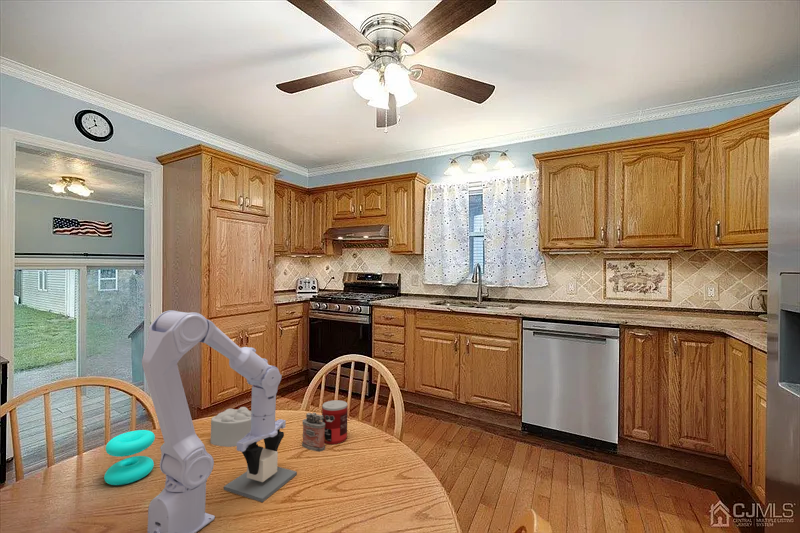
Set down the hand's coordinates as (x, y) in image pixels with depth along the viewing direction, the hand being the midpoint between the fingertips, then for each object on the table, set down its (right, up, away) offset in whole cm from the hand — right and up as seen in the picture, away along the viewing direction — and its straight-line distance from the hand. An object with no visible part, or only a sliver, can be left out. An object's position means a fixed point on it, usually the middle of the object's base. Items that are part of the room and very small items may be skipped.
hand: (262, 467), depth 86 cm
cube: (0, -2, 0) cm, 2 cm away
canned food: (+14, -5, +23) cm, 28 cm away
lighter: (+8, -5, +18) cm, 20 cm away
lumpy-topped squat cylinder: (-18, -5, +23) cm, 29 cm away
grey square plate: (0, -4, 0) cm, 3 cm away
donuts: (-35, -4, +2) cm, 35 cm away
